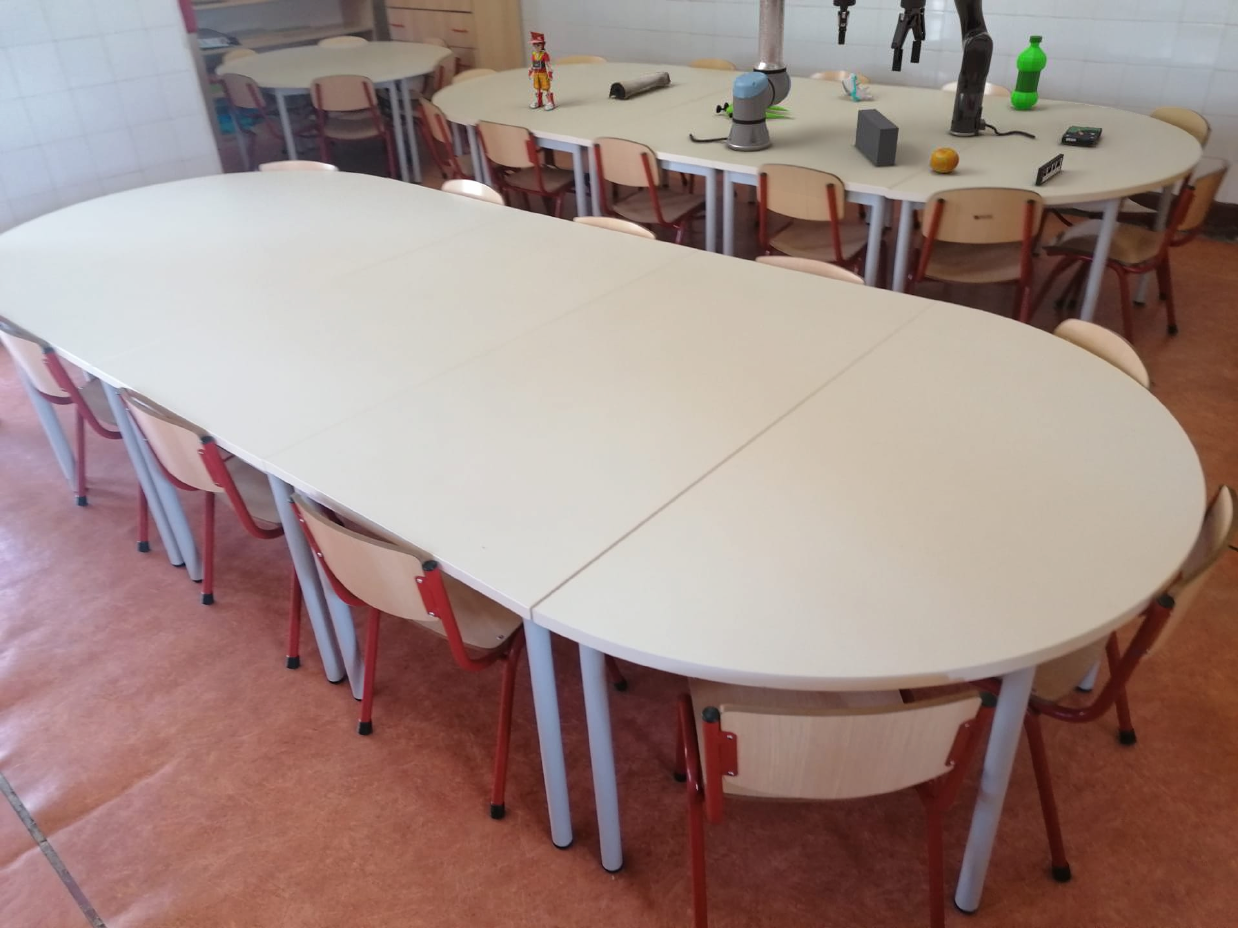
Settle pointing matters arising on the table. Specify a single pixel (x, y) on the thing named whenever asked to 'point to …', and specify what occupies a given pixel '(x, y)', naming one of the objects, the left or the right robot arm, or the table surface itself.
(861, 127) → the box
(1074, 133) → the disk drive
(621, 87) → the rolled mat
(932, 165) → the fruit
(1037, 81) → the plastic bottle
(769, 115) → the toy
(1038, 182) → the midi keyboard
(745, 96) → the left robot arm
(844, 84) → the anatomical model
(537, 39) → the toy
